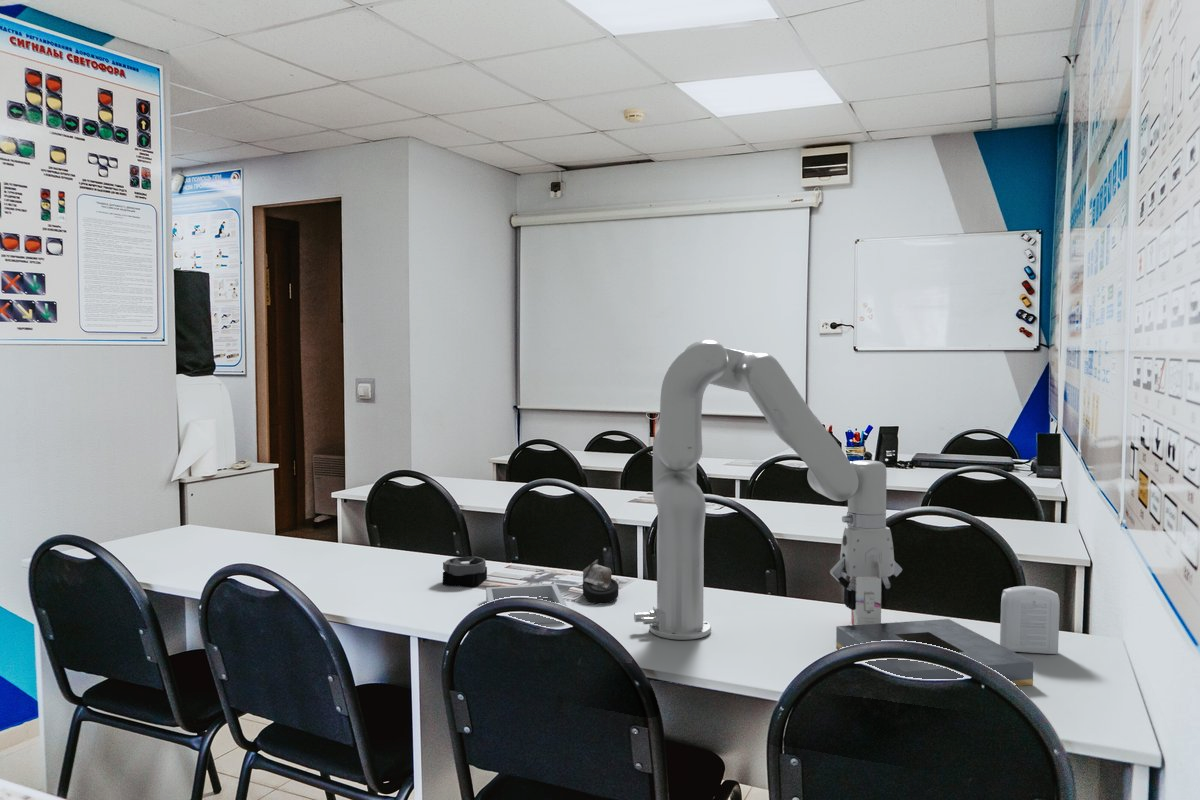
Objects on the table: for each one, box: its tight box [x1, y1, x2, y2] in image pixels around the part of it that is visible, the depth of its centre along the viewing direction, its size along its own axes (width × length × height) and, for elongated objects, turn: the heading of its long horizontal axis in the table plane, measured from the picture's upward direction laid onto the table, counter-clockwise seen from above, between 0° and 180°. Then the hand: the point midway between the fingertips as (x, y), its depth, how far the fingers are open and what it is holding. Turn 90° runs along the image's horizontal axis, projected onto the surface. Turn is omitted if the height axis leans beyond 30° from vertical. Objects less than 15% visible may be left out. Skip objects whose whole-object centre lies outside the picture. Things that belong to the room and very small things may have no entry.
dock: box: [835, 618, 1034, 687], centre depth 149 cm, size 24×24×4 cm
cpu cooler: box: [442, 556, 488, 588], centre depth 208 cm, size 10×6×10 cm
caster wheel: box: [582, 559, 619, 604], centre depth 194 cm, size 7×11×10 cm
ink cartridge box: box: [850, 562, 882, 625], centre depth 170 cm, size 9×5×15 cm, turn 171°
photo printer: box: [999, 585, 1061, 655], centre depth 156 cm, size 10×4×12 cm, turn 81°
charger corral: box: [485, 583, 568, 624], centre depth 183 cm, size 16×19×3 cm
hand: (865, 606), depth 170 cm, fingers closed on ink cartridge box, 6 cm apart
